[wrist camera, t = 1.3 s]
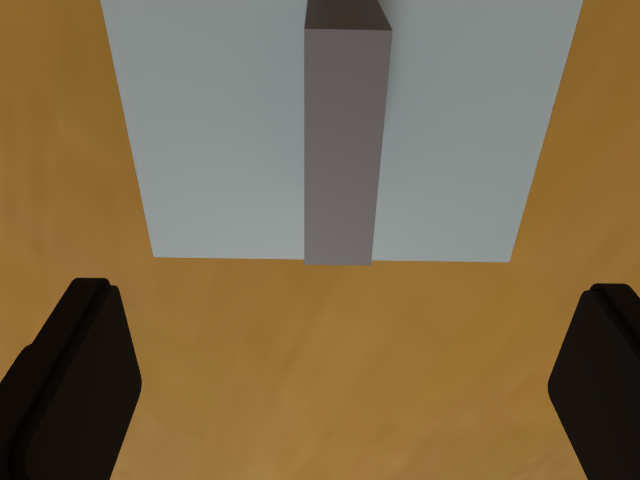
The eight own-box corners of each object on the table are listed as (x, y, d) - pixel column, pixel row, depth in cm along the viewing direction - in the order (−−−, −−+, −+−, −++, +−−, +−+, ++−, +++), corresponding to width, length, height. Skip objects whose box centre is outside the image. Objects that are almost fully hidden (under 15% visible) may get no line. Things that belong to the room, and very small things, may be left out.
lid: (98, -130, 18) (-13, -138, 12) (587, -120, 18) (719, -122, 12) (165, 231, 26) (119, 332, 20) (496, 236, 26) (547, 337, 21)
